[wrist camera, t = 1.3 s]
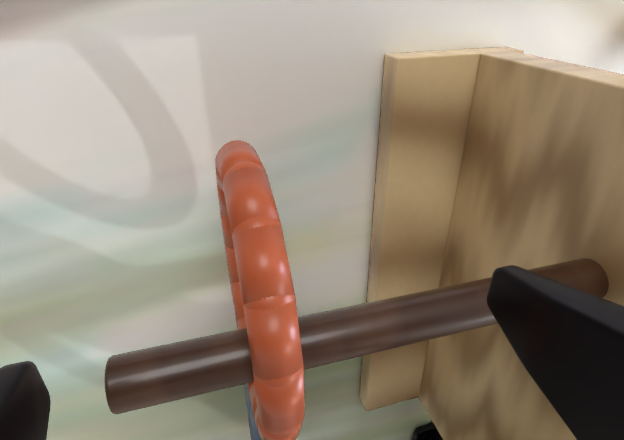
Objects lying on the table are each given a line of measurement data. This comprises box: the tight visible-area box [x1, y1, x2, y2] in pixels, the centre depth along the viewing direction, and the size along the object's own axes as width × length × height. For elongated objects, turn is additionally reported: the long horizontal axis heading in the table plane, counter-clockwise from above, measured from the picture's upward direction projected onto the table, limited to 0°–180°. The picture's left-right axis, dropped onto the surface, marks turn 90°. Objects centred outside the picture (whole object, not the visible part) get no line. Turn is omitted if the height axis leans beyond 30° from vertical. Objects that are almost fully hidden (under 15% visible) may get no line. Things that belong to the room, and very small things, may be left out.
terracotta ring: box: [215, 140, 305, 440], centre depth 14 cm, size 9×1×9 cm, turn 0°
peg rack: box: [105, 47, 624, 440], centre depth 18 cm, size 22×17×11 cm
